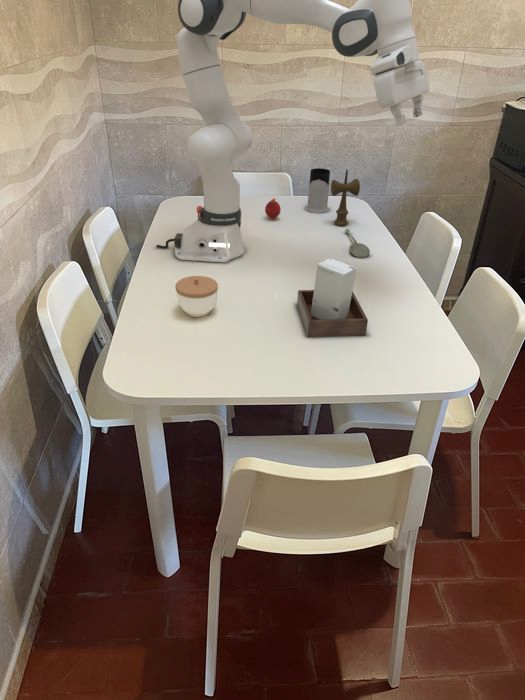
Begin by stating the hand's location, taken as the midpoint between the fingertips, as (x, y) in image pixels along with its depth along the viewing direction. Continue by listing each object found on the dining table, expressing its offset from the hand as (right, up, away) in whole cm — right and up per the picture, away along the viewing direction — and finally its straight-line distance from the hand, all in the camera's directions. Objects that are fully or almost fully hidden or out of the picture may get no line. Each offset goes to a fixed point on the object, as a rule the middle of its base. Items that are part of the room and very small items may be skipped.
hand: (410, 120), depth 128 cm
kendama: (-6, -9, +70) cm, 70 cm away
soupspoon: (-4, -20, +53) cm, 57 cm away
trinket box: (-53, -46, +11) cm, 70 cm away
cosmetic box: (-18, -47, +9) cm, 52 cm away
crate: (-18, -48, +9) cm, 52 cm away
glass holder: (-13, +2, +86) cm, 87 cm away
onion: (-32, -6, +72) cm, 79 cm away
